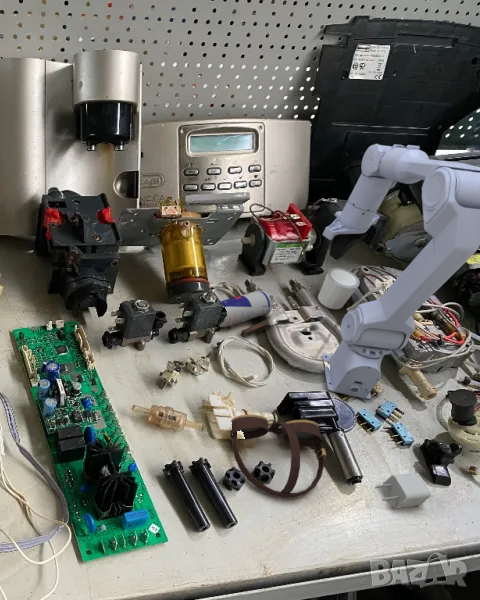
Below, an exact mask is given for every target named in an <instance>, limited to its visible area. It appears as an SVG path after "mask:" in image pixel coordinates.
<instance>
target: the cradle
mask: <svg viewBox="0 0 480 600" xmlns="http://www.w3.org/2000/svg"><path fill="white" fill-rule="evenodd" d="M258 290H262V291H264V290H263V289H262V288H259V289H258ZM255 291H256V290H254V291H253V292H255ZM283 322H284V321H279V323H278V324H280V323H283ZM268 324H269V323H268V319H266V320H263V321H261V322H259V323H256V324H254V325H251V326H248V327H247V328H244V329H242V330H241V333H240V336H241V338H243V339H244V338H247V337H249V336H252V335H254V334H256V333H259V332H262V331H263V330H266V329H269V328H270V327H272V326H271V325H268Z"/></svg>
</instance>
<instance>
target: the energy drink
mask: <svg viewBox="0 0 480 600" xmlns="http://www.w3.org/2000/svg"><path fill="white" fill-rule="evenodd" d="M257 290H258V291H256V290H254V291H255V292H254V291H251V292H248V293H245V294H241V295H237V296H234V297H231V298H227V299H224V300H221V301H220V300H219V302H221V303H222V305H223V306H224V307H225V309H226V311H227V316H226V318H225V320H224V322H223V324H222V326H220V328H227V327H229V326H233V325H237V324H239V323H243V322H246V321H249V320H252V319H253V320H254V319H256V318H259V317H262V316H265V315H268V314H270V312H271V310H272V307H273V303H272V298H271V296H270V295H269V294H268V293H267V292H266V291H265V290H263V289H262V290H263V291H262V290H259V289H257ZM267 313H268V314H267Z"/></svg>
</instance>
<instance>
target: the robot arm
mask: <svg viewBox="0 0 480 600" xmlns="http://www.w3.org/2000/svg"><path fill="white" fill-rule="evenodd" d="M360 167H361V168H360V169H361V174H360V176H359V178H358V180H357V182H356V184H355V185H354V187H353V190H352V191H351V193H350V195H349V197H348V199H347V201H346V203H345V205H344V206H343V209H342V210H339V211H336V212H335V213H334V216H335V217H336V218H335V219H334V220H333V222H332V223H331V224H329V225H328V226H326V227H325V228H324V231H323V232H322V234H321V235H322V236H323V237H325V238H326V239H328V240H329V241H331V244H330V250H329V256H330V257H331V258H332V259H334V260H335V261H338V260H341V259H342V258H343V257H344V256H345V255H346V254H347V252H348V251H349V250H351V248H353V247H354V246H355V245H356V244H357V243H358V242H361V240H363V239H365V238H366V236H367V233H366V232H367V231H368V230H369V229H370V228H371V226H374V225H376V224H377V222H378V221H379V220H380V215H378V214H377V212H378V211H379V208H380V207H381V205H382V203H383V201H384V200H385V198H386V196H387V194H388V192H389V190H391V189H393V188H395V186H396V184H397V183H401V184H406V185H411V184H417V183H418V182H420V181H423V183H422V186H421V203H422V216H423V230H424V231H425V232H426V233H427V234H429V235H430V237H432V238H431V240H430V241H429V242H427V244H426V245H425V246H424V248H422V250H421V251H420V252H419V253H418V254H417V255H416V256H415V257H414V258H413V259H412V261H411V262H410V263H409V265H407V266H406V268H405V269H404V270H403V271H402V273H400V275H399V276H398V277H397V278H396V279H395V280H394V281H393V282H392V284H391V285H390V286H389V287H388V288H387V289H386V290H385V291H384V293H383V294H382V295H381V296H380V297H379V298H378V299H375V300H371V301H367V302H362V303H359V304H358V305H357V306H356V307H355V308H354V309H351V310H349V311H348V312H347V313H345V314H344V316H343V318H342V319H341V323H340V324H341V325H340V336H341V338H342V340H341V341H340V343H339V345H338V346H337V348H336V349H335V351H334V353H332V354H330V353H326V352H323V353H322V362H323V361H325V360H326V361H329V360H330V361H329V362H330V370H329V368H328V367H327V366H326V367H324V366H323V368H324V375H325V380H326V387H327V390H328V391H330V392H333V393H338V394H342V395H347V396H351V397H356V398H361V399H364V400H371V399H372V393H371V392H372V390H373V389H374V388H375V387H376V386H377V384H378V382H379V381H380V380H381V378H382V371H381V363H382V361H383V358H384V356H387V355H388V356H389V355H391V353H392V351H395V352H399V351H402V350H403V349H404V348H405V347H406V345H407V344H408V342H409V340H410V337H411V336H412V334H413V333H414V332H415V331H416V323H415V318H414V316H413V314H416V312H417V311H418V310H419V309H420V308H421V307H422V306H423V305H424V304H425V303H427V301H428V300H429V299H430V298H431V297H432V296H433V295H434V294H435V293H436V292H437V291H438V290H439V289H440V288H441V287H442V286H443V285H444V284H446V282H447V281H448V280H449V279H450V278H451V277H452V276H453V275H454V274H455V273H457V271H458V270H460V269H461V267H462V266H464V265H465V264H466V262H467V261H468V260H469V259H471V257H472V256H473V255H474V254H475V253H476V252H477V250H478V249H479V248H480V166H476V165H472V164H469V163H463V162H455V161H447V160H439V159H430V157H429V156H428V154H427V153H426V151H423V150H421V148H420V146H419V145H413V144H412V145H411V144H408V145H406V147H404V145H402V144H393V145H392V146H390V145H383V144H379V143H375V144H371V145H370V146H368V148H367V149H366V151H365V152H364V154H363V156H362V160H361V166H360Z"/></svg>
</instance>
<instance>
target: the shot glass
mask: <svg viewBox="0 0 480 600" xmlns="http://www.w3.org/2000/svg"><path fill="white" fill-rule="evenodd" d="M360 283H361V282H360V279H359V277H358V276H357V275H356V274H355V273H353V272H352V271H351V270H349V269H346V268H341V267H331V268H330V269H328V271H327V273H326V276H325V278H324V280H323V283H322V285H321V287H320V290H319V293H318V295H317V299H318V301H319V303H320V304H321V305H322V306H324V307H325V308H328V309H331V310H340V309H342V308H343V307H344V306H345V304H346V303H347V302H348V300H349V299H351V297H352V295H353V294H354V293H355V291H356V290H357V289H358V287H359V286H360Z"/></svg>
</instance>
